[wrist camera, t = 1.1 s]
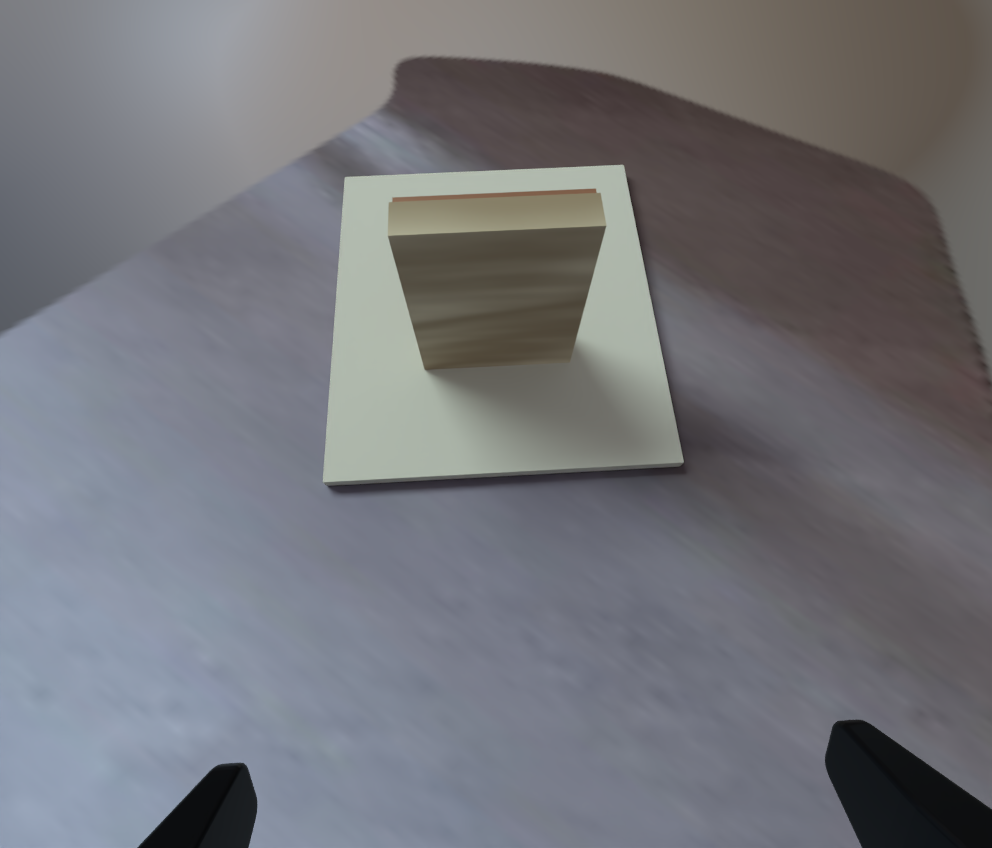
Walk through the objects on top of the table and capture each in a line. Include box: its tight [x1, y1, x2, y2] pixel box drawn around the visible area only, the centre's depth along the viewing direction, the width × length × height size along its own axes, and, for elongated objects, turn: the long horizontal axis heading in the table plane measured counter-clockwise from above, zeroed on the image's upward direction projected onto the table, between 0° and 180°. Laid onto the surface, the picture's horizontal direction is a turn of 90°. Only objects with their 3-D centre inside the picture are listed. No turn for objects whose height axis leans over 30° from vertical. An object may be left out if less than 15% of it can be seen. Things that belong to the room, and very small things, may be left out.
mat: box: [323, 165, 684, 486], centre depth 26 cm, size 18×16×1 cm
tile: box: [388, 188, 606, 370], centre depth 21 cm, size 2×7×9 cm, turn 93°
